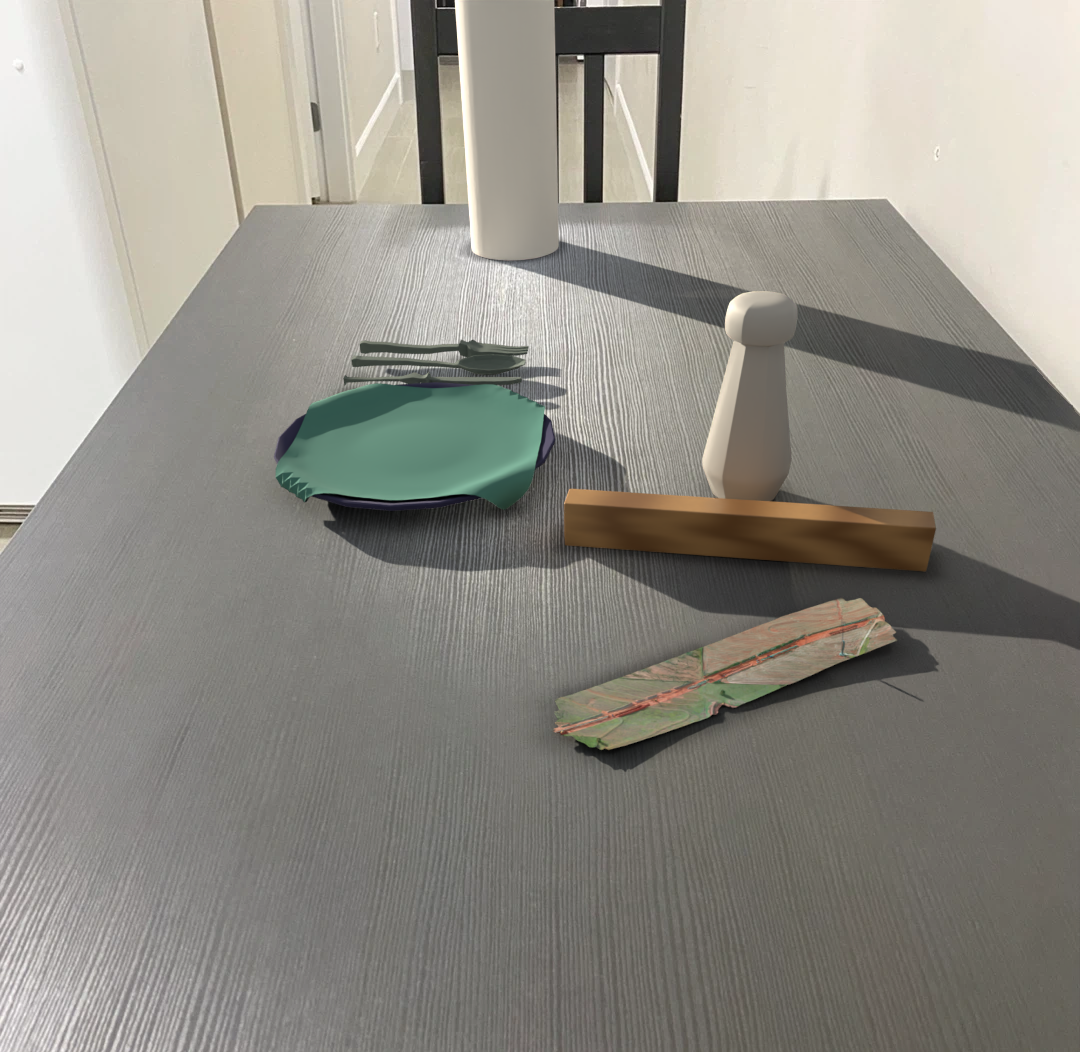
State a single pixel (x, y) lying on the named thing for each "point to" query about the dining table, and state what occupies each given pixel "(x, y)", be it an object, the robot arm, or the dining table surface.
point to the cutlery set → (419, 435)
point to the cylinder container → (509, 125)
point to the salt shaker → (752, 401)
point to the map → (721, 674)
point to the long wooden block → (750, 529)
